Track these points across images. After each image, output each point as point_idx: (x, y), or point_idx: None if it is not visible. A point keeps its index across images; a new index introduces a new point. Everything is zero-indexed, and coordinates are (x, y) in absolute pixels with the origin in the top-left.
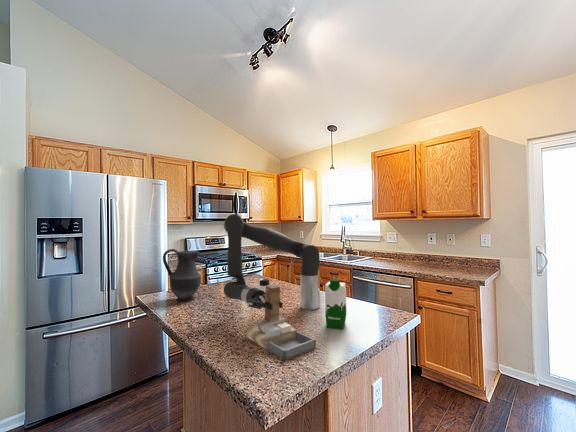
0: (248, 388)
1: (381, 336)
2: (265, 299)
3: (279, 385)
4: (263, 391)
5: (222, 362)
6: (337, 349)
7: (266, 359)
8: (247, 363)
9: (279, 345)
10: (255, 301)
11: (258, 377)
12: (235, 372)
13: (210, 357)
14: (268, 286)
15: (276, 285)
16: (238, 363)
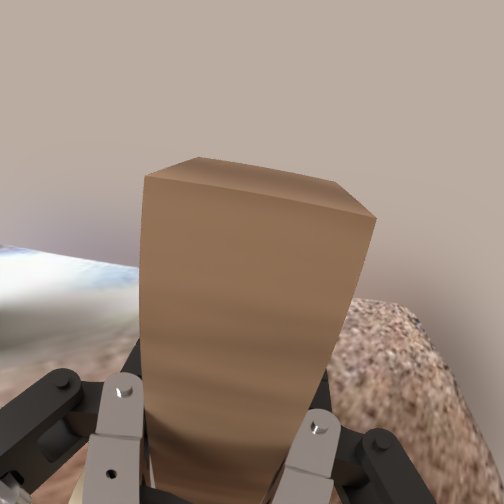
0: (422, 346)
1: (19, 251)
2: (301, 417)
3: (366, 320)
4: (399, 327)
5: (466, 457)
6: (132, 298)
7: (344, 402)
8: (405, 417)
9: None
10: (415, 484)
11: (396, 358)
12: (440, 399)
13: (493, 499)
14: (340, 196)
15: (187, 164)
16: (428, 430)
